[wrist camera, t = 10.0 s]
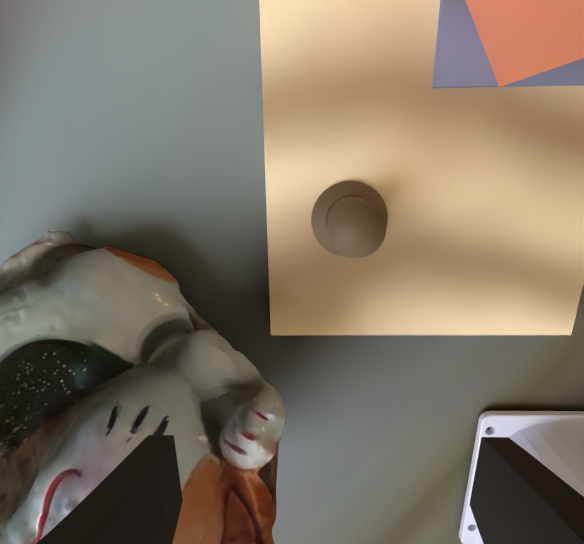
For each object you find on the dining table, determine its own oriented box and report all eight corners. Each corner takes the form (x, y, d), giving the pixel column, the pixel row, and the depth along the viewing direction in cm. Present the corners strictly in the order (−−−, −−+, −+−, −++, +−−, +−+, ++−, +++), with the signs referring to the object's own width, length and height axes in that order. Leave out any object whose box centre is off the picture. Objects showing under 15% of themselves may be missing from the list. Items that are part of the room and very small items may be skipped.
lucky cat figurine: (107, 173, 16) (143, 372, 5) (255, 321, 24) (401, 534, 12) (-178, 402, 15) (-909, 1278, 4) (70, 483, 22) (50, 875, 11)
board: (553, 323, 18) (617, 365, 14) (272, 324, 18) (265, 365, 15) (670, -189, 12) (825, -332, 9) (256, -174, 13) (239, -307, 9)
